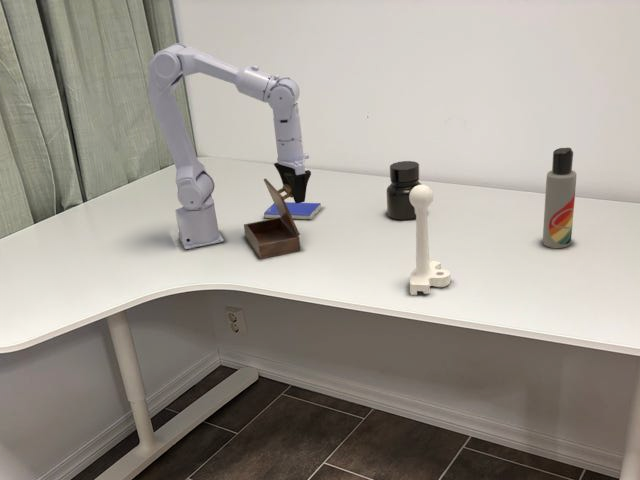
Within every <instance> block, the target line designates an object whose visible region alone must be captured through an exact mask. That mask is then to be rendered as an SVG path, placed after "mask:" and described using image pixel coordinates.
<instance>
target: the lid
mask: <svg viewBox="0 0 640 480" xmlns="http://www.w3.org/2000/svg"><path fill="white" fill-rule="evenodd" d="M263 182H264V184H265V186H266V188H267V190H268V193H269V195H270V197H271V199H272V201H273V204H274V203H275V206H276V208H277V210H278V212H279V214H280V216H281V217H282V218H283V220H284V221H285V222H286V223H287V224H288V225H289V227H290V228H291V229H292V230H293V231H294V232H295V234H296V235H297V236H298V237H300V235H301V234H300V232H299V230H298V228H297V225H296V223H295V221H294V219H293V218H292V216H291V214H290V212H289V210H288V207H287V205H286V203H285V202H286V200H287V199H289V198H292V199H294V198H293V194H292V190H291V187H290V186H289V185H288V184H285V185H283V184H282V188H280V189H277V188H276V187H275V186H273V184H272V183H271V182H270V181H269V180H268V179H267V178H263ZM282 193H286V194H284V195H282Z"/></svg>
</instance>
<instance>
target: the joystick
mask: <svg viewBox="0 0 640 480" xmlns="http://www.w3.org/2000/svg"><path fill="white" fill-rule="evenodd" d="M409 200H410V202H411V204H412V205H413V206H414V208H415V209H416V218H415V226H416V227H415V251H416V252H415V267H414V268H413V270H412V271H411V273H410V276H409V293H410V295H412V296H418V292H422V293H423V294H425V295H427V294H430V293H431V291H430V290H431V287H434V288H445V287H447V286H448V285H450V283H451V271H449V270H447V269H443V268H442V266H441V265H442V263H441V262H440V261H437V260H435V261H433V260H430V244H429V241H430V240H429V226H428V225H429V223H428V222H429V221H428V208H429V206H431V204H432V203H433V201H434V192H433V190H432V188H431V187H429V186H428V185H426V184H422V185H417V186H415V187H414V188H413V189H412V190H411V192H410V195H409Z"/></svg>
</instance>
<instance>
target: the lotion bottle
mask: <svg viewBox="0 0 640 480" xmlns="http://www.w3.org/2000/svg"><path fill="white" fill-rule="evenodd" d="M573 160H574V151H573V150H572V147H559V148H556V149H555V150H553V152H552V164H551V165H552V166H551V170H550V171H548V172H547V173H546V181H545V196H544V197H545V198H544V211H543V213H544V214H543V225H542V226H543V230H542V245H544V246H545V247H548V248H552V249H561V248H567V247H568V246H570V245H571V244H572V243H571V242H572V236H573V223H574V214H575V213H574V212H575V198H576V189H577V188H576V186H577V172H576V171H575V170H573Z"/></svg>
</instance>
